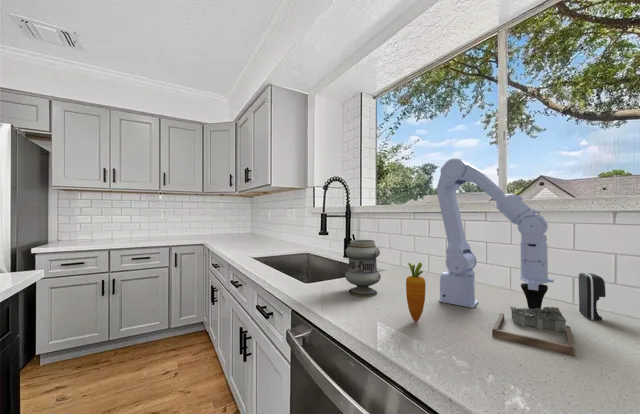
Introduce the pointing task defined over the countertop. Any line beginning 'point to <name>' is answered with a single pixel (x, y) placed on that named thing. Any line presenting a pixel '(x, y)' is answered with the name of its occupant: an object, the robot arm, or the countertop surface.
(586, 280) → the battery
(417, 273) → the carrot
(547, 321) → the egg carton
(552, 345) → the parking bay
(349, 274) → the apothecary jar
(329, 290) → the countertop surface
